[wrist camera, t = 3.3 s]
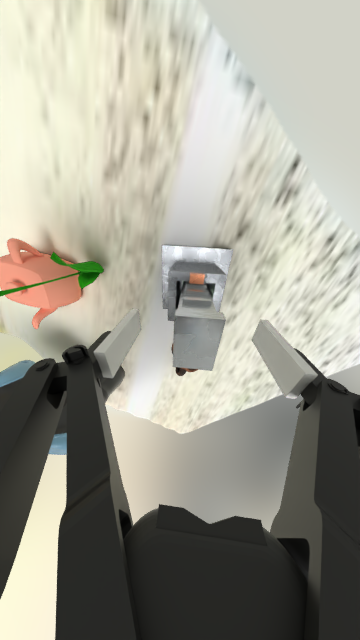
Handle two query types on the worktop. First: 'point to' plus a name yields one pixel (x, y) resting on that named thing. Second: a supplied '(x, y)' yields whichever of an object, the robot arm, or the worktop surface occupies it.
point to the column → (196, 328)
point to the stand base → (193, 272)
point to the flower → (86, 277)
